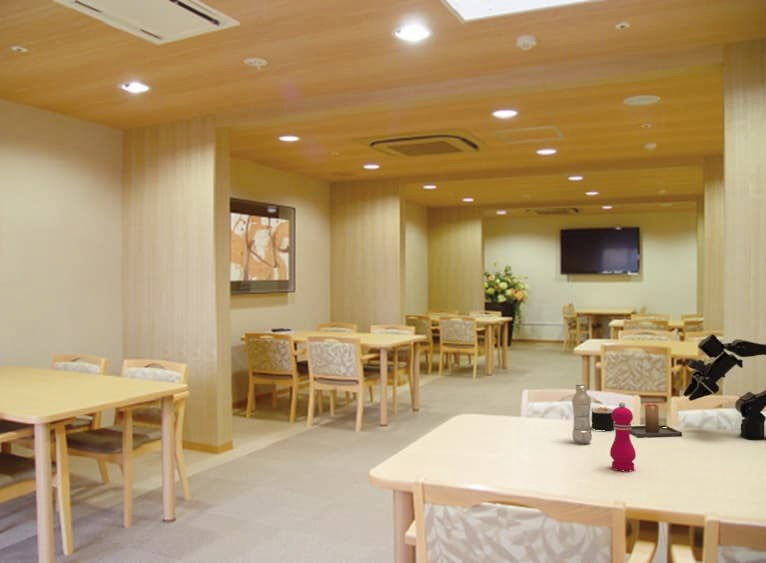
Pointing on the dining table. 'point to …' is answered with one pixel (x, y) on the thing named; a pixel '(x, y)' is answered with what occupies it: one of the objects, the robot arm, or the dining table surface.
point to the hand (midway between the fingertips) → (686, 397)
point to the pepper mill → (622, 439)
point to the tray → (663, 432)
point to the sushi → (602, 419)
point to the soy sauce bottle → (651, 418)
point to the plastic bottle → (581, 415)
